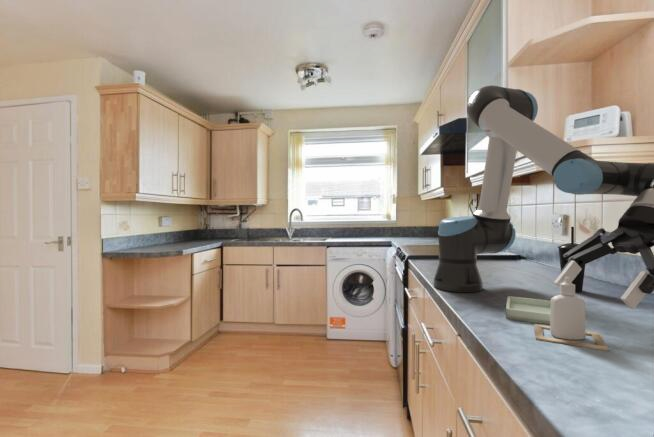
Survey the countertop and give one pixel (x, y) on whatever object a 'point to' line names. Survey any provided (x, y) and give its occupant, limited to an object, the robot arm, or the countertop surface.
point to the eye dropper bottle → (567, 313)
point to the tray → (528, 309)
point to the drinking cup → (562, 250)
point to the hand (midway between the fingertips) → (589, 294)
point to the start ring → (596, 337)
